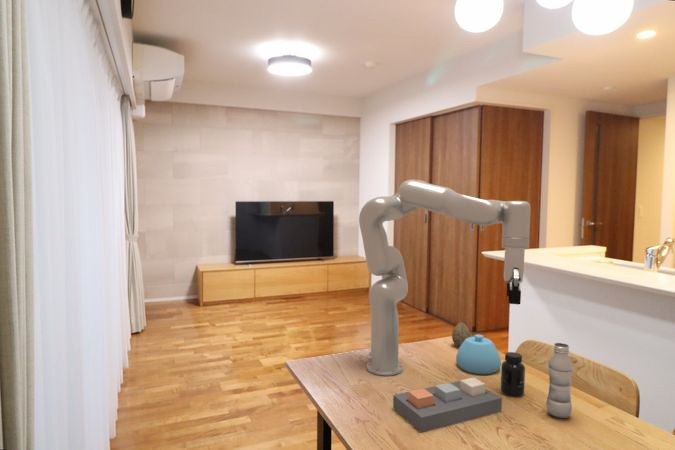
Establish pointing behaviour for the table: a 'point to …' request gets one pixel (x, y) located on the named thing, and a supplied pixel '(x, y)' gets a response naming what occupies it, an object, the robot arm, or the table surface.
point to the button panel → (447, 409)
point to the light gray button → (447, 392)
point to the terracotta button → (420, 398)
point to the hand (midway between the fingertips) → (513, 299)
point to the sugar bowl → (478, 355)
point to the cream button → (472, 387)
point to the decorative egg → (460, 334)
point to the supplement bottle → (513, 375)
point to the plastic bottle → (560, 382)
